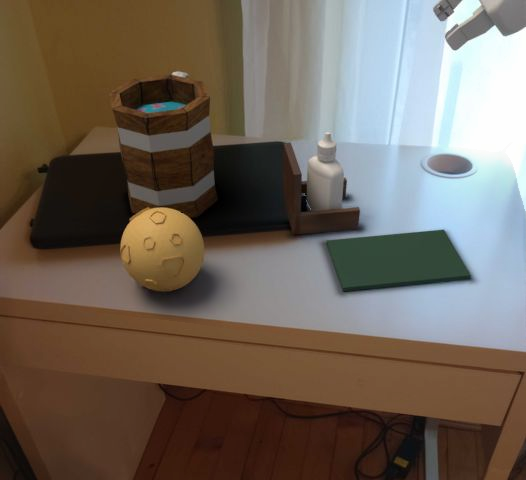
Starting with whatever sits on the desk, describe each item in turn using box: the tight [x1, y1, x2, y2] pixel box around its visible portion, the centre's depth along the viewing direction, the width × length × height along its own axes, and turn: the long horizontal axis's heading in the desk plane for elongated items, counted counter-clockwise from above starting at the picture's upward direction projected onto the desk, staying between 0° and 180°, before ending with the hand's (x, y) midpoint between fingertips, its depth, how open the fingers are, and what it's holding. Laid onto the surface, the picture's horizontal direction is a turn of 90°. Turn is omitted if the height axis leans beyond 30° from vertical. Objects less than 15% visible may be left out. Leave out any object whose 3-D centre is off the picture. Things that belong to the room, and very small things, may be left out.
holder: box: [282, 141, 361, 236], centre depth 85 cm, size 9×9×9 cm
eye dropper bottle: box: [305, 131, 345, 212], centre depth 84 cm, size 4×6×12 cm
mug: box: [108, 70, 219, 219], centre depth 89 cm, size 20×14×15 cm
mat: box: [325, 229, 472, 292], centre depth 80 cm, size 16×10×1 cm, turn 97°
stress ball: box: [119, 207, 205, 292], centre depth 75 cm, size 10×10×10 cm
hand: (442, 29), depth 72 cm, fingers open, 8 cm apart
